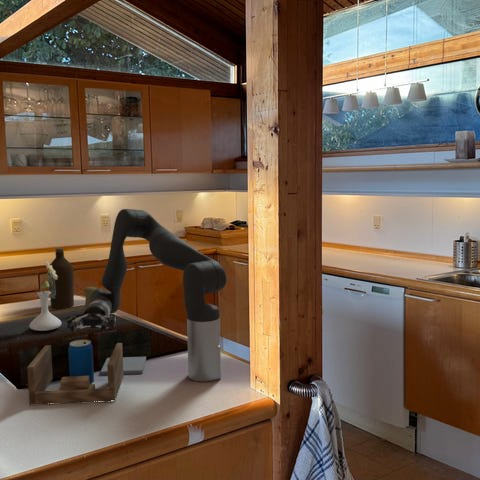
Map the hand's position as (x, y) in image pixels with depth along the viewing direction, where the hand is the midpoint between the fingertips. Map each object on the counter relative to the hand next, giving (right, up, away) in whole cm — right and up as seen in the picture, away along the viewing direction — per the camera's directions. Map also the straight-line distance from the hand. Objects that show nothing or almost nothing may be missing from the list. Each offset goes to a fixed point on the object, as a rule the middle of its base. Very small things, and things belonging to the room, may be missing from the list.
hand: (87, 328), depth 175 cm
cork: (-15, -4, +66) cm, 68 cm away
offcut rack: (+1, -15, -14) cm, 20 cm away
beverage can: (+1, -14, -10) cm, 18 cm away
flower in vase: (-27, -7, +45) cm, 53 cm away
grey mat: (+10, -12, +3) cm, 16 cm away
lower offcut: (+2, -15, -17) cm, 23 cm away
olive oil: (-31, -2, +79) cm, 85 cm away
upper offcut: (+1, -13, -18) cm, 22 cm away
